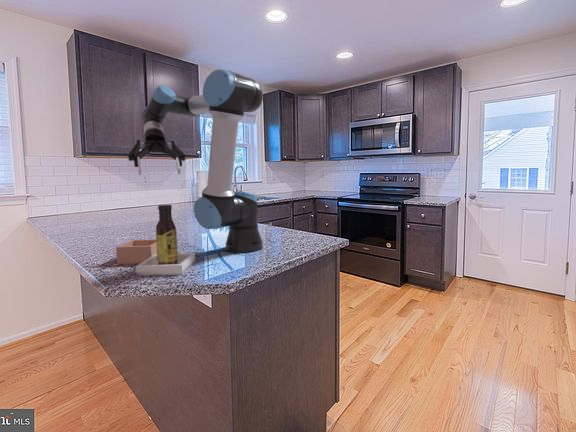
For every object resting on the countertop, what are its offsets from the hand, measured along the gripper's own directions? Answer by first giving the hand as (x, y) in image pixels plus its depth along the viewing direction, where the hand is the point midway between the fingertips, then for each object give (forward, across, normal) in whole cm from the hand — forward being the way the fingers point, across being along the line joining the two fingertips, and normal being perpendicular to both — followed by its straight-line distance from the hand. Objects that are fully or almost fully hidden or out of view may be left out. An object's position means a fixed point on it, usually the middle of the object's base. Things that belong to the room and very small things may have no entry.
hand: (160, 171), depth 117 cm
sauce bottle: (+35, +1, -8) cm, 36 cm away
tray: (+36, +1, -9) cm, 37 cm away
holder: (+23, +8, -21) cm, 33 cm away
